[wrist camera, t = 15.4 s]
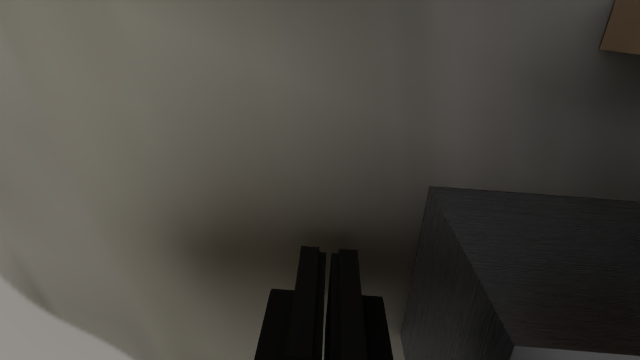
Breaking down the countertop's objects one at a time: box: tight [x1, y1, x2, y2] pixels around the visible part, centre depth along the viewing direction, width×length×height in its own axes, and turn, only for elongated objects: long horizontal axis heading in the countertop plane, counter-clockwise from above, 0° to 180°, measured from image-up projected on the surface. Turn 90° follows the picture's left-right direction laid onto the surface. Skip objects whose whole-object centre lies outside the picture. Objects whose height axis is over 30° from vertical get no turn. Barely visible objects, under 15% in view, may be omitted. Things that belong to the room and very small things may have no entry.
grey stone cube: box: [401, 187, 640, 360], centre depth 10 cm, size 8×6×6 cm
